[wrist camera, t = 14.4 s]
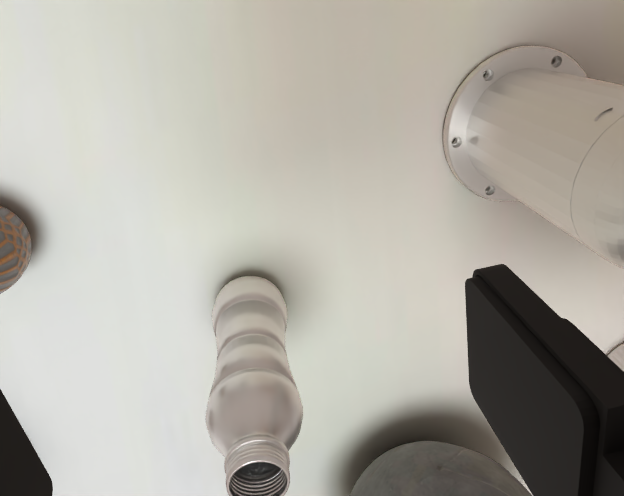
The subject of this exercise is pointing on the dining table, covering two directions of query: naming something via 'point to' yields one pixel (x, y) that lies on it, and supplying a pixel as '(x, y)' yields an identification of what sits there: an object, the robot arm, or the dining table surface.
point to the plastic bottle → (253, 389)
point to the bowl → (436, 473)
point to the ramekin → (618, 356)
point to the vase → (12, 248)
